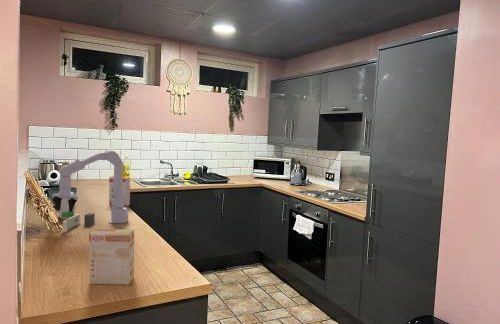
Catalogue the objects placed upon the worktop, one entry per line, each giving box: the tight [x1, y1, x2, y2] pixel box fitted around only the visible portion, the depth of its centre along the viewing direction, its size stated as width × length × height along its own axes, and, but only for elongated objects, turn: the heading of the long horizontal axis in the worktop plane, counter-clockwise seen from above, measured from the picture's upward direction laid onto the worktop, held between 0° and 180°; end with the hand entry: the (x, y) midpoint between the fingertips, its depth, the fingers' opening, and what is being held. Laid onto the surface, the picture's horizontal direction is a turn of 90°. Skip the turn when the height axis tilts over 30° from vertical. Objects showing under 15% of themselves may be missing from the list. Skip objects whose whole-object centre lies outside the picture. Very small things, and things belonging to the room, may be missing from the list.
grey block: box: [83, 212, 96, 226], centre depth 218 cm, size 4×5×6 cm
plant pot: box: [47, 186, 78, 207], centre depth 261 cm, size 18×18×12 cm
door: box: [67, 214, 78, 230], centre depth 209 cm, size 2×10×6 cm, turn 0°
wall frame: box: [62, 213, 81, 233], centre depth 209 cm, size 2×18×6 cm, turn 0°
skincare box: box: [57, 192, 76, 220], centre depth 230 cm, size 8×7×16 cm
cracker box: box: [108, 175, 131, 207], centre depth 269 cm, size 14×6×21 cm, turn 73°
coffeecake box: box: [88, 228, 135, 286], centre depth 141 cm, size 15×7×20 cm, turn 92°
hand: (64, 210), depth 208 cm, fingers open, 7 cm apart
